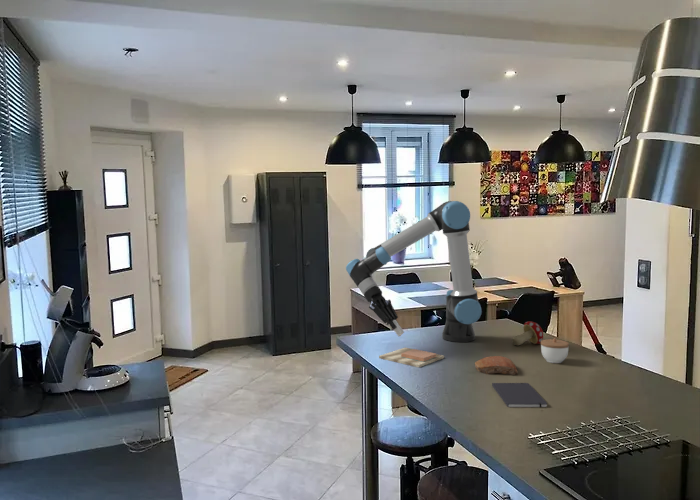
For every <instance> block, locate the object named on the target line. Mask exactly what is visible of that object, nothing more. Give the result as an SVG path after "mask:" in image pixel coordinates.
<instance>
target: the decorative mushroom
mask: <svg viewBox="0 0 700 500" xmlns="http://www.w3.org/2000/svg"><path fill="white" fill-rule="evenodd" d="M542 340H544V331H543V328H542V327H541V325H540V324H538V323H537V322H534V321H531V320H530V321H525V322H524V324H523V332H522V333H520V334H517V335H515V336H513V338H512V340H511V341H512V344H513V345H514V346H518V347H519V346H521V345H523V344H524V343H525V342H526V341H529V342H531V343H532V344H534V345H541V341H542Z"/></svg>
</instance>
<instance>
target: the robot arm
mask: <svg viewBox="0 0 700 500" xmlns="http://www.w3.org/2000/svg"><path fill="white" fill-rule="evenodd" d="M470 220H471V212H470V209H469V207H468V206H467V205H466V204H465V203H463V202H462V201H458V200H448V201H444V202H443V203H441V204H440V205H439V206H437V207H435V209H433V210H432V211H430V212H428V213H427V216H426V217H424V218H422V219H420V220H418V221H417V222H415V223H414V224H412V225H410V226H409V227H406V229H404V230H402V231H401V232H399V233H397V234H395V235H393V236H391V237H390V238H388V239H386V240H385V241H383V242H381V243H380V244H378V245H376V246H375V247H373V248H372V247H371V248H370V249H369V250H368V251H367V252H366V254H365V255H366V256H365V257H364V258H363V259H362V260H360V259H358V258H354V259H353V260H351V261H349V262H348V263H347V264H346V266H345V270H346V272H347V274H348V275H349V277H350V279H351V280H352V281H353V282H354V284H355V285H356V287H357V288H358V290H359V291H360V293H361V294H362V295H363V297H364V298H365V299H366V301H367V302H368V303H370V305H369V306H368V308H369V309H370V310H371V311H373V313H374V314H375V315H376V316H378V318H379V319H380V320H381V321H382V322H383V324H386V325H387V326H388V325H390V328H391V329H392V330H393V331H394V332H395V334H396V335H397V336H398V337H401V336H402V335H403V334H404V333H405V331H404V330H403V328H402V327H401V325H400V324H399V322H398V321H397V319H398V318H399V317H398V314H397V312H396V310H395V309H394V307H393V304H392V301H391V299H386V298H385V296H383V291H382V289H381V288H380V287H379V285H378V284H377V282H376V281H375V280H374V278H373V277H372V276H371V275H372V274H374V273H375V272H377V271H378V270H380V269H381V268H383V267H384V266H385V265H387V264H388V263H389V262H390V261H391V260H392V257H393V256H395V255H397V254H398V253H400V252H402V251H403V250H405V249H407V248H409V247H411V246H412V245H413V244H415V243H417V242H419V241H420V240H422V239H424V238H425V237H428V236H429V235H431V234H432V233H434V232H441V231H442V234H443V235H444V236H446V240H447V247H448V257H449V265H450V272H451V281H452V289H450V290H449V289H448V290H447V291H446V296H445V298H446V299H445V300H446V302H445V303H446V304H445V305H446V306H445V308H446V311H445V312H446V313H445V317H446V318H445V324H444V328H443V330H442V333H441V335H442V337H441V338H442V340H445V341H448V342H455V343H467V342H468V343H469V342H473V341H475V339H476V334H475V330H474V327H473V324H474V323H476V322H478V321H479V319H480V318H481V315H482V313H483V311H482V307H481V306H482V305H481V303H480V302H479V296H478V291H477V290H476V289H475V288H474V285H473V277H472V267H471V259H470V253H469V252H470V251H469V243H468V234H469V232H470V229H471V228H470Z"/></svg>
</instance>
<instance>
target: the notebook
mask: <svg viewBox="0 0 700 500" xmlns="http://www.w3.org/2000/svg"><path fill="white" fill-rule="evenodd" d="M491 384H492V385H491V386H492V388H493V389H494V391H495V392H496V393H497V394H498V396H499V398H500V399H501V400H502V401H503V402H504V404H505V405H506V407H507V408H547V407H548V402H547V401H546V400H545V399H544V398H543V397H542V396H541V395H540V394H539V392H537V390H536V389H535V388H533V386H532V385H531V384H530V383H528V382H492V383H491Z"/></svg>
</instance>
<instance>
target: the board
mask: <svg viewBox="0 0 700 500" xmlns="http://www.w3.org/2000/svg"><path fill="white" fill-rule="evenodd" d="M413 349H414V348H409V347H403V348H398V349H396V350H394V351H390V352H385V353H383V354H381V355H378V359H380V360H385V361H389V362H393V363H398V364H401V365H402V364H403V365H405V366H406V365H408V366H411V367H415V368H421V367H423V366H427V365H429V364H432V363H434V362H437V361H440V360H443V359H444V358H445V355H443V354H438V353H436V358H433V359H431V360H428V361H425V362H421V361H416V360H412V359H407V358H403V357H401V353H404V352H407V351H410V350H413Z"/></svg>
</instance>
